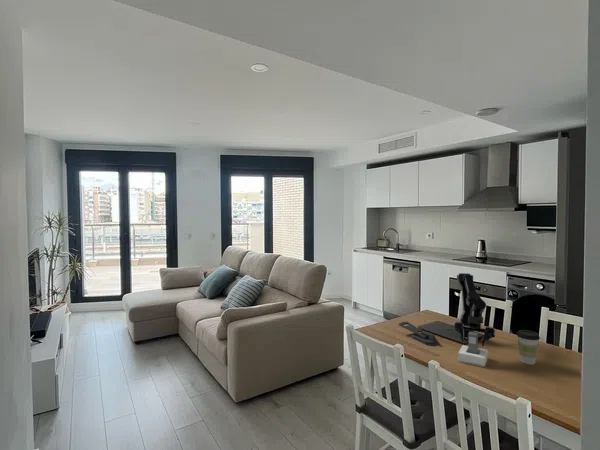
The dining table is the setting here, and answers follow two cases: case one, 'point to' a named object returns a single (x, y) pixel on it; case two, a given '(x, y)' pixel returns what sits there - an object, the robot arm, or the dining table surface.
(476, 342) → the bracket post
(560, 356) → the dining table surface
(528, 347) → the coffee cup
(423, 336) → the zipper pull
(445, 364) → the dining table surface
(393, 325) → the dining table surface
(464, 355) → the block
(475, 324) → the robot arm
